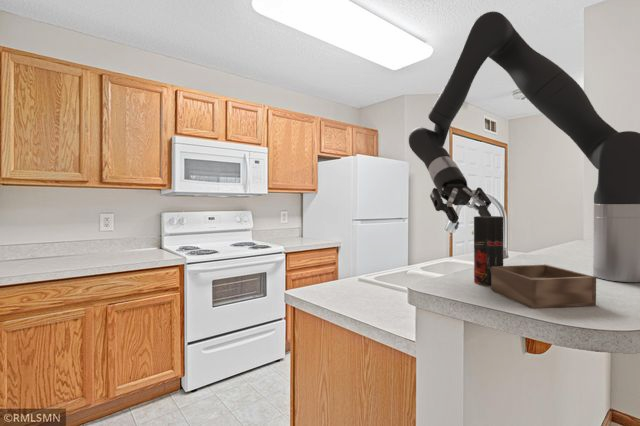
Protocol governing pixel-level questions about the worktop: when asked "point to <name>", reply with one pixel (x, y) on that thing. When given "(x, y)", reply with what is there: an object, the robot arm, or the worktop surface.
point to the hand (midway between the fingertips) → (472, 220)
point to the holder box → (543, 286)
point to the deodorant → (487, 247)
